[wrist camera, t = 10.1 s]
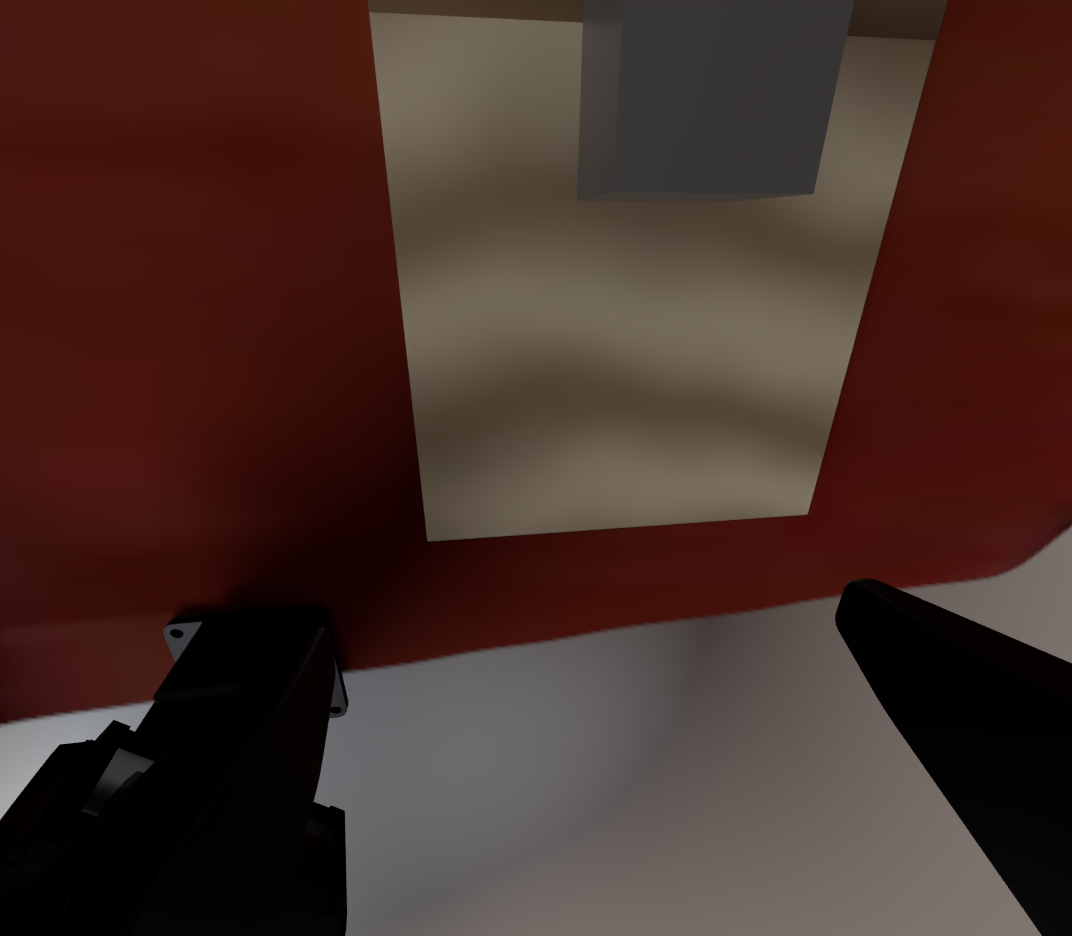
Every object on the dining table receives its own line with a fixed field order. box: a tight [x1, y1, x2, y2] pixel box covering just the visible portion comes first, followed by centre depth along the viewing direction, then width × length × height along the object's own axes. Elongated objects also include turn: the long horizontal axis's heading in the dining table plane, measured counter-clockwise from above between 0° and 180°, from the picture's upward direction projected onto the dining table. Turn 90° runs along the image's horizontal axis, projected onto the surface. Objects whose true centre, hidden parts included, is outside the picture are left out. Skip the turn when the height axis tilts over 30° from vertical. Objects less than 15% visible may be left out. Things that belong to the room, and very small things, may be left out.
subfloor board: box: [368, 0, 948, 542], centre depth 17 cm, size 22×16×2 cm
